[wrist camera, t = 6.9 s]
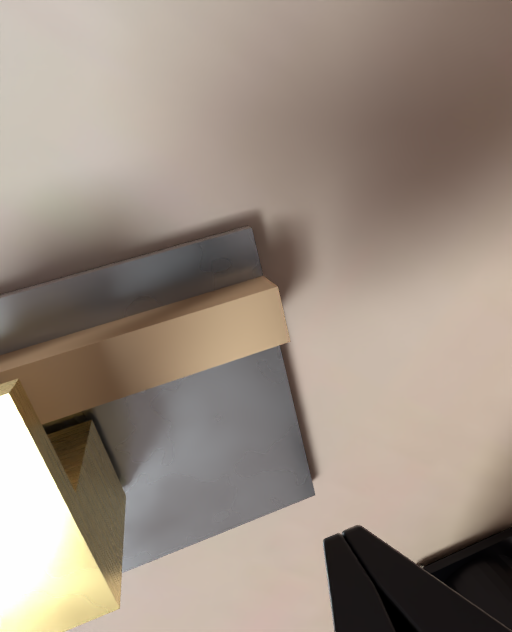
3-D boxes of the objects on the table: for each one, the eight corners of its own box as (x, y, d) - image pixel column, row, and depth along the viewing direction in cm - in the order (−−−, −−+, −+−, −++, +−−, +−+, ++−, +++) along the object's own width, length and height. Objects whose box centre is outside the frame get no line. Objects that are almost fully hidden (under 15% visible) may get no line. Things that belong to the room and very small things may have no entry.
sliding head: (51, 328, 12) (8, 393, 8) (139, 526, 15) (137, 643, 11) (-98, 372, 11) (-218, 465, 8) (23, 571, 14) (-22, 713, 10)
